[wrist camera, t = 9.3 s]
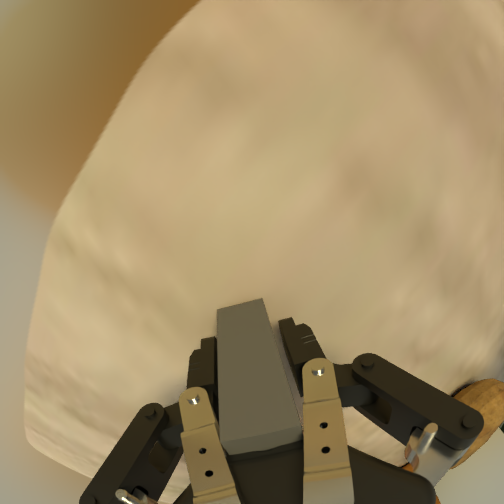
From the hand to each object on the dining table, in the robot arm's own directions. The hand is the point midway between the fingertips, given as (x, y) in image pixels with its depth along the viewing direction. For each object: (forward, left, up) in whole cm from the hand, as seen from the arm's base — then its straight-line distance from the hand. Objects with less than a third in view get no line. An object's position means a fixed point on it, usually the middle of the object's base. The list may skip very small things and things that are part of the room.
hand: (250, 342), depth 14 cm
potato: (+21, +20, -1) cm, 29 cm away
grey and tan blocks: (+10, 0, -1) cm, 10 cm away
